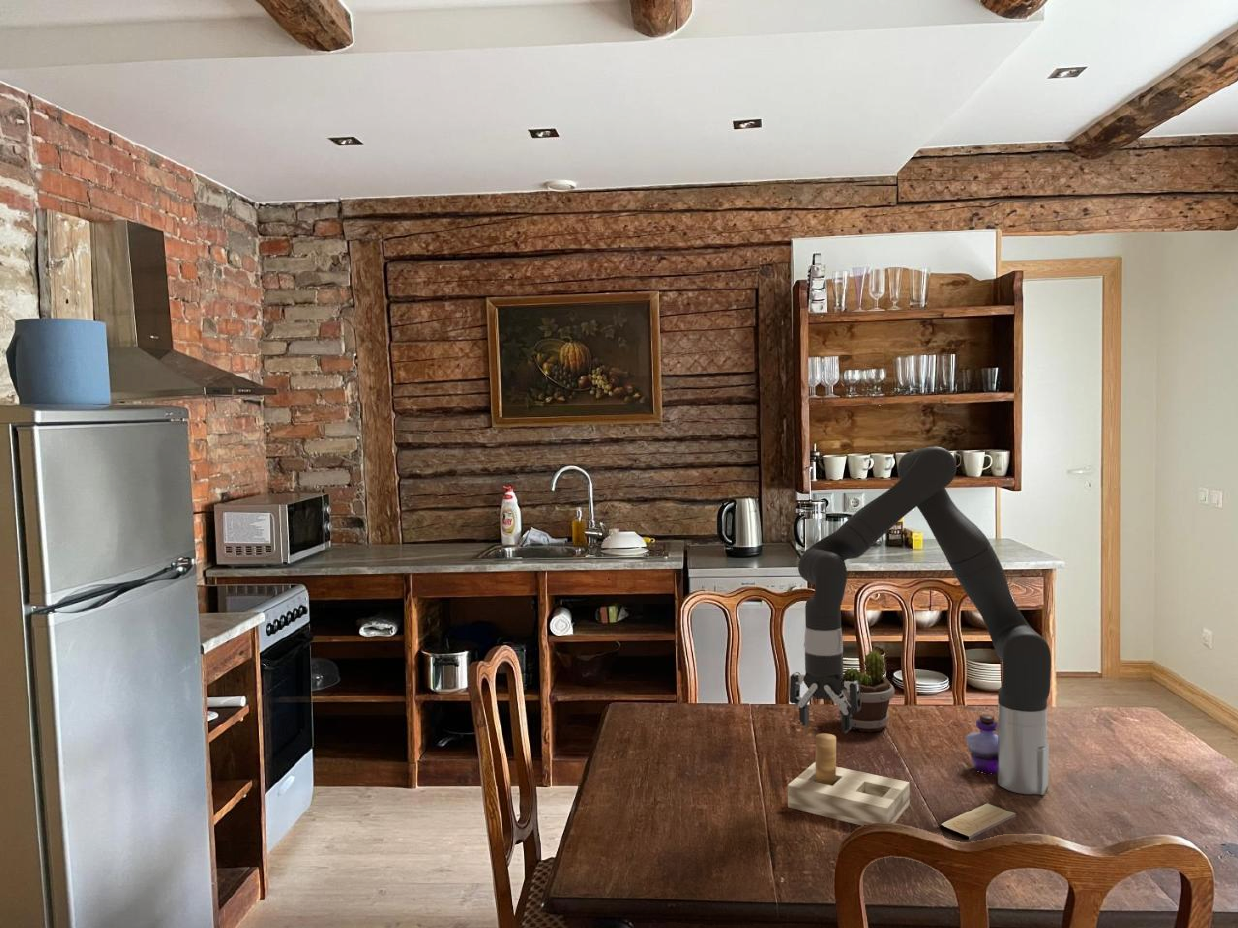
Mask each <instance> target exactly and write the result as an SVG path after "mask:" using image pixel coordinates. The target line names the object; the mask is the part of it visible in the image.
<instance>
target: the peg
mask: <svg viewBox="0 0 1238 928" xmlns="http://www.w3.org/2000/svg"><path fill="white" fill-rule="evenodd" d="M815 762H816V780H815V782H817V783H822V784H826V785H831V786H833V785H834V784H835V783H836V767H837V737H836V735H834V734H831V733H824V732H823V733H818V734H816V735H815Z"/></svg>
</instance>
